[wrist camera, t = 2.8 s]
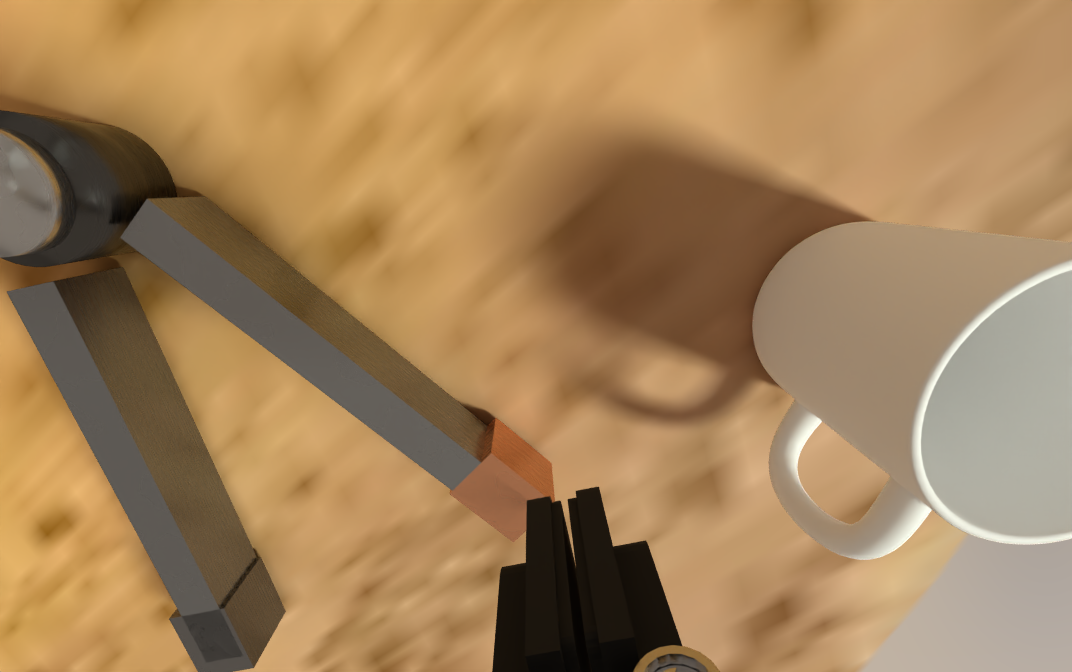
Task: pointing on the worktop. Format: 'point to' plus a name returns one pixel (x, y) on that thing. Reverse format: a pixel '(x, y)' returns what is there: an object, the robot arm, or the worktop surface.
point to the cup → (926, 378)
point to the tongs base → (141, 399)
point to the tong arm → (291, 331)
